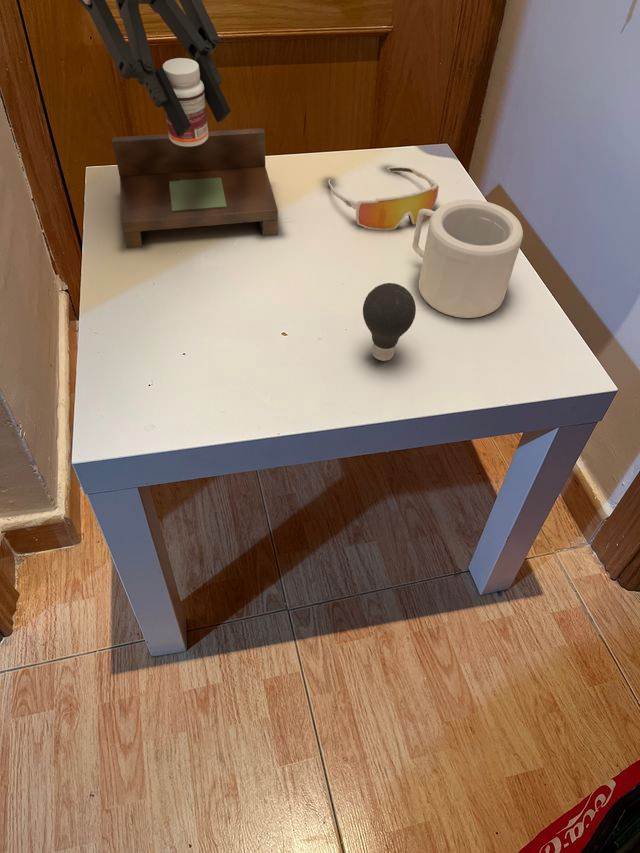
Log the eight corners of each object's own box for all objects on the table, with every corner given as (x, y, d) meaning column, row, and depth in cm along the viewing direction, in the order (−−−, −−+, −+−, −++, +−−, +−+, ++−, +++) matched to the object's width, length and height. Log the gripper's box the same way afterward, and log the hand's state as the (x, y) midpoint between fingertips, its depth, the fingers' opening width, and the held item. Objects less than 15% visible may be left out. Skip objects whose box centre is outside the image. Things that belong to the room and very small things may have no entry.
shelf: (126, 249, 90) (113, 186, 83) (124, 198, 97) (112, 137, 90) (278, 236, 93) (277, 174, 86) (265, 187, 100) (263, 127, 93)
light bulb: (395, 337, 81) (407, 267, 73) (414, 370, 77) (428, 301, 70) (350, 346, 79) (357, 276, 72) (367, 380, 76) (376, 311, 68)
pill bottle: (165, 130, 84) (155, 58, 77) (204, 126, 85) (197, 54, 78) (172, 150, 81) (162, 76, 74) (212, 145, 82) (205, 72, 75)
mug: (520, 292, 87) (542, 224, 79) (470, 333, 82) (489, 264, 74) (435, 246, 92) (448, 177, 85) (383, 281, 87) (392, 212, 80)
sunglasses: (360, 241, 92) (361, 206, 89) (316, 198, 102) (315, 164, 99) (451, 220, 96) (455, 185, 93) (399, 180, 106) (401, 147, 103)
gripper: (161, -78, 81) (253, 115, 86) (18, -50, 73) (128, 160, 78) (181, -124, 74) (279, 87, 79) (26, -99, 66) (146, 134, 71)
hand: (204, 123), depth 79 cm, fingers closed on pill bottle, 5 cm apart
